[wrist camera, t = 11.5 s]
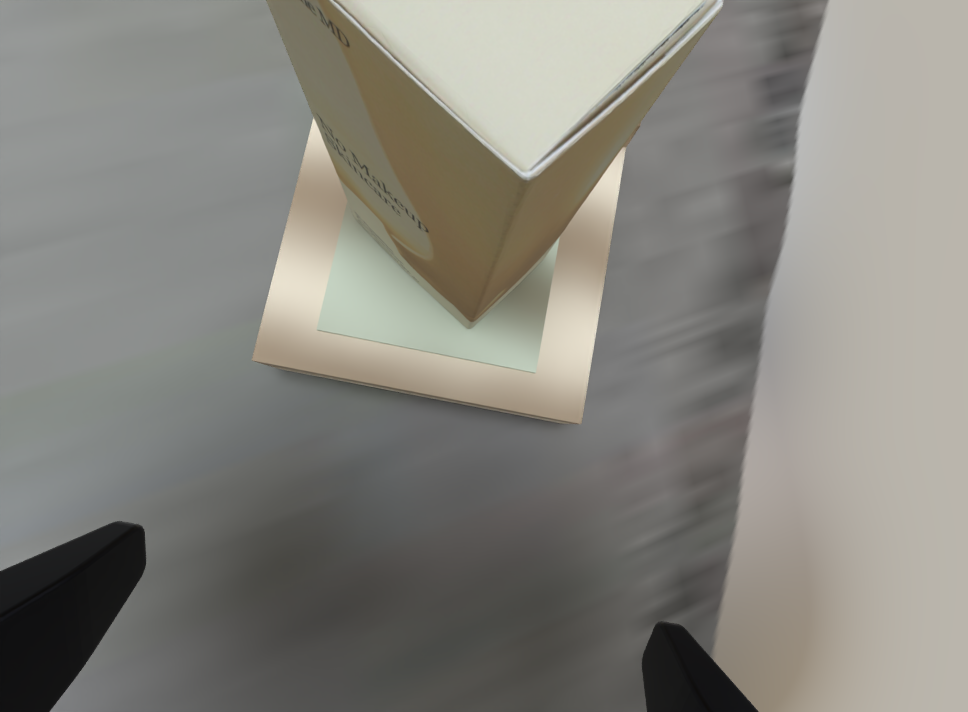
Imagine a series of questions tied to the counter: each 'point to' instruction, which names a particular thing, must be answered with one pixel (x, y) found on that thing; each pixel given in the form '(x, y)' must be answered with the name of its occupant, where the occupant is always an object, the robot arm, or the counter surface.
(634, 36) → the skincare box
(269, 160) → the counter surface
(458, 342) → the stand
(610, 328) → the counter surface
